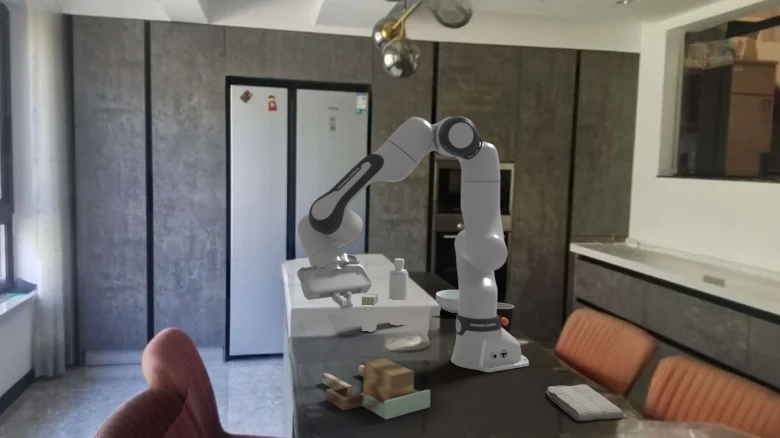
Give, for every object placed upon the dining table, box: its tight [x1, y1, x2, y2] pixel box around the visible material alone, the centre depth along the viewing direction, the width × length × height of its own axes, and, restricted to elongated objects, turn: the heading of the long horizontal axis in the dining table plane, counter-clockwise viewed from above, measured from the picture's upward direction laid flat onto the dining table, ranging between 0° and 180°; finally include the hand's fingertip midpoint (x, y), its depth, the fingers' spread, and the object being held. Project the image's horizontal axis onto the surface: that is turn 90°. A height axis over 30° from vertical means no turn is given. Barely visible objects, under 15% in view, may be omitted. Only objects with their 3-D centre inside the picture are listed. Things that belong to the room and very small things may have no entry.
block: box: [362, 357, 415, 403], centre depth 151 cm, size 12×6×9 cm, turn 37°
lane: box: [321, 364, 420, 419], centre depth 157 cm, size 27×23×2 cm
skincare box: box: [361, 293, 379, 306], centre depth 215 cm, size 6×4×12 cm
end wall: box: [383, 388, 432, 420], centre depth 145 cm, size 1×13×4 cm, turn 127°
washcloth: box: [545, 383, 624, 422], centre depth 152 cm, size 12×18×3 cm, turn 13°
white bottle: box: [388, 257, 409, 300], centre depth 223 cm, size 7×7×25 cm
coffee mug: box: [497, 302, 515, 335], centre depth 214 cm, size 12×9×10 cm
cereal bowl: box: [435, 289, 459, 314], centre depth 244 cm, size 17×17×7 cm
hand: (347, 307), depth 165 cm, fingers closed
